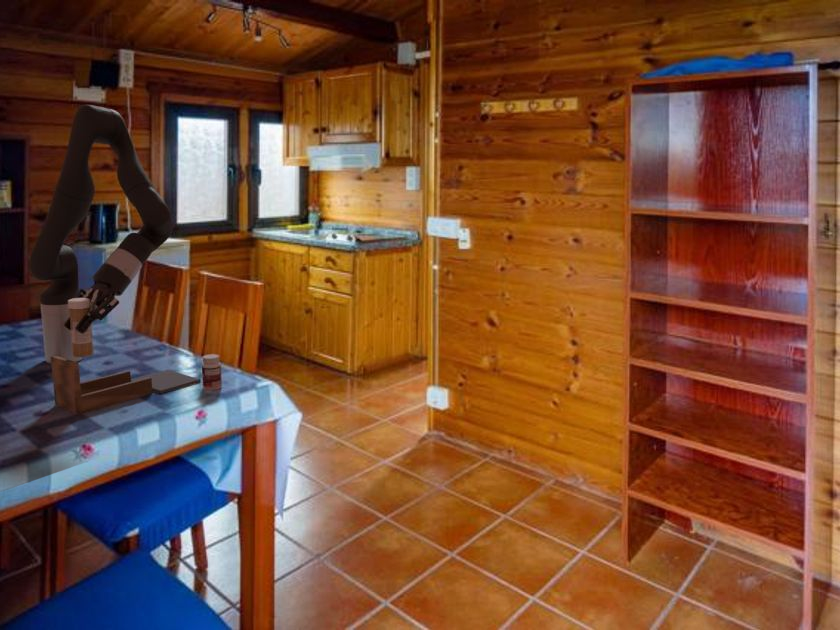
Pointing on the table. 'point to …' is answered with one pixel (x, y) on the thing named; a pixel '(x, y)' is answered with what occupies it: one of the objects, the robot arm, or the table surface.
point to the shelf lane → (93, 387)
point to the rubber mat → (169, 381)
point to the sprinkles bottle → (79, 340)
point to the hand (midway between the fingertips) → (73, 329)
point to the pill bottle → (211, 372)
